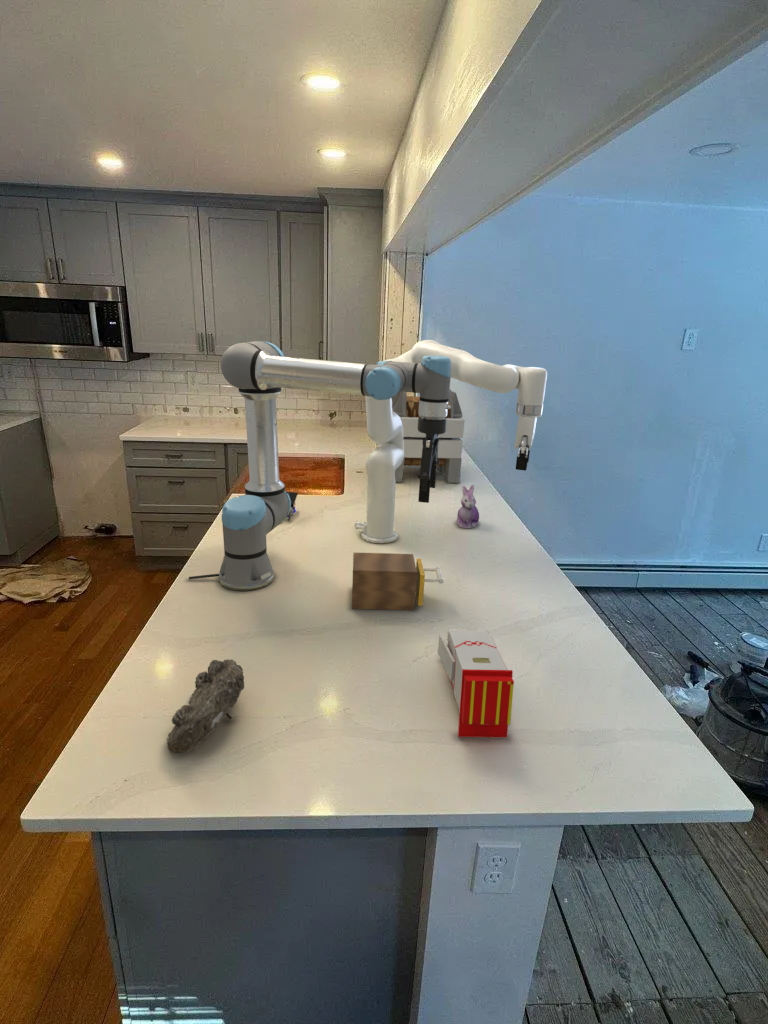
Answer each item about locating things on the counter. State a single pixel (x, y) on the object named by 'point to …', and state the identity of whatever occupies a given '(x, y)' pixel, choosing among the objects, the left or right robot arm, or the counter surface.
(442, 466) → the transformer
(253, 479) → the left robot arm
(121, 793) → the counter surface
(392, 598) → the cabinet
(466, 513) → the figurine
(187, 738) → the fossil
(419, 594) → the drawer
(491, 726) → the toy
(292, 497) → the figurine character
